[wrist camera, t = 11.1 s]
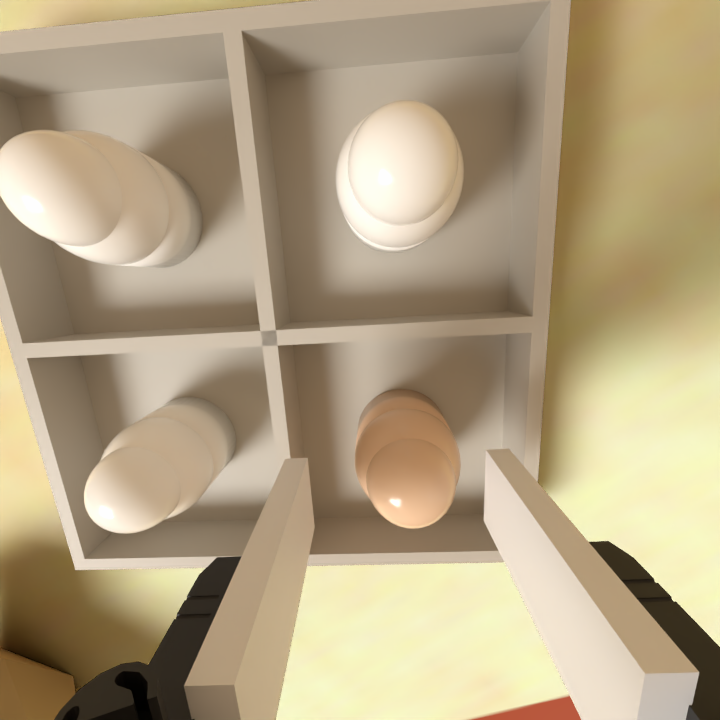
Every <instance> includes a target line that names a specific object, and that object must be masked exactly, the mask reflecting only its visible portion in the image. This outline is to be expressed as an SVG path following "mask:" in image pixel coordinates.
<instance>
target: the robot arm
mask: <svg viewBox="0 0 720 720" xmlns="http://www.w3.org/2000/svg"><path fill="white" fill-rule="evenodd" d="M484 522H485V524H486V526H487V528H488V530H489V532H490V534H491V537H492V539H493V541H494V543H495V545H496V547H497V549H498V551H499V553H500V555H501V557H502V559H503V561H504V563H505V565H506V567H507V569H508V571H509V573H510V575H511V577H512V579H513V581H514V583H515V585H516V587H517V589H518V591H519V593H520V595H521V597H522V599H523V602H524V604H525V606H526V608H527V610H528V612H529V614H530V616H531V618H532V620H533V622H534V624H535V626H536V628H537V630H538V632H539V634H540V636H541V638H542V640H543V642H544V644H545V646H546V648H547V650H548V652H549V654H550V656H551V658H552V660H553V662H554V664H555V666H556V669H557V671H558V673H559V675H560V677H561V679H562V681H563V683H564V685H565V687H566V689H567V691H568V693H569V695H570V697H571V699H572V701H573V703H574V705H575V707H576V709H577V711H578V713H579V715H580V717H581V719H582V720H720V647H719V646H718V645H717V644H716V643H715V642H714V641H713V640H712V639H711V637H710V636H709V635H708V634H707V633H706V632H705V631H704V630H703V629H702V628H701V627H700V626H699V625H698V624H697V623H696V622H695V621H694V620H693V619H692V618H691V617H690V616H689V615H688V614H687V613H686V612H685V611H684V610H683V608H682V607H681V606H680V605H679V604H678V603H677V602H673V600H672V599H671V596H670V595H669V594H668V593H667V592H666V591H665V590H664V589H663V588H662V587H661V586H660V585H659V584H658V583H655V582H654V578H653V577H652V576H651V575H650V574H649V573H648V572H647V571H646V570H645V569H644V568H643V567H642V566H641V565H640V564H639V563H638V562H637V561H636V560H635V559H634V558H633V557H632V556H630V555H629V554H627V553H626V552H624V551H623V550H621V549H620V548H618V547H616V546H615V545H613V544H612V543H610V542H609V541H600V542H588V541H587V540H586V539H585V537H584V536H583V535H582V534H581V533H580V532H579V530H578V529H577V528H576V527H575V526H574V525H573V523H572V522H571V521H570V520H569V519H568V517H567V516H566V515H565V514H564V513H563V512H562V510H561V509H560V508H559V507H558V506H557V505H556V503H555V502H554V501H553V500H552V499H551V498H550V496H549V495H548V494H547V493H546V492H545V490H544V489H543V488H542V487H541V486H540V485H539V483H538V482H537V481H536V480H535V479H534V478H533V476H532V475H531V474H530V473H529V472H528V470H527V469H526V468H525V467H524V466H523V465H522V463H521V462H520V461H519V460H518V459H517V458H516V456H515V455H514V454H513V453H512V452H511V451H510V449H491V450H486V461H485V494H484ZM314 528H315V525H314V515H313V505H312V496H311V486H310V476H309V467H308V458H291V459H285V460H284V463H283V465H282V467H281V469H280V472H279V474H278V476H277V478H276V481H275V483H274V485H273V487H272V490H271V492H270V494H269V496H268V499H267V501H266V503H265V505H264V508H263V510H262V512H261V514H260V516H259V519H258V521H257V523H256V525H255V528H254V530H253V532H252V534H251V537H250V539H249V541H248V543H247V546H246V548H245V550H244V552H243V555H242V556H235V557H217V558H216V559H215V560H214V561H213V562H212V563H211V564H210V565H209V566H208V567H207V568H206V569H205V570H204V571H203V572H202V573H201V574H200V575H199V576H198V578H197V580H196V581H195V583H194V585H193V587H192V588H191V590H190V592H189V594H188V596H187V600H186V601H184V603H183V604H182V606H181V608H180V610H179V612H178V613H177V618H176V619H174V620H173V622H172V624H171V626H170V628H169V629H168V631H167V633H166V635H165V636H164V638H163V640H162V642H161V644H160V645H159V647H158V649H157V651H156V652H155V654H154V656H153V658H152V660H151V661H150V663H149V665H146V664H143V663H141V662H132V663H125V664H120V665H118V666H116V667H114V668H112V669H109V670H107V671H105V672H103V673H101V674H99V675H98V676H97V677H95V678H94V679H93V680H91V681H90V682H89V683H87V684H86V685H85V686H83V687H82V688H81V689H79V690H78V691H77V693H76V694H75V695H74V696H73V697H72V698H71V699H70V700H69V701H68V702H67V703H66V704H65V705H64V706H63V708H62V709H61V710H60V711H59V713H58V714H57V716H56V717H55V719H54V720H276V715H277V710H278V705H279V700H280V696H281V691H282V686H283V681H284V676H285V671H286V666H287V661H288V656H289V651H290V646H291V642H292V637H293V632H294V627H295V622H296V617H297V612H298V607H299V602H300V597H301V592H302V587H303V583H304V578H305V573H306V568H307V563H308V558H309V553H310V548H311V543H312V538H313V533H314Z"/></svg>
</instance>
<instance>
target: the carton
mask: <svg viewBox="0 0 720 720" xmlns="http://www.w3.org/2000/svg"><path fill="white" fill-rule="evenodd" d="M570 8H571V0H312V1H302V2H292V3H282V4H272V5H262V6H252V7H242V8H232V9H222V10H212V11H202V12H192V13H182V14H172V15H162V16H152V17H142V18H132V19H122V20H112V21H102V22H93V23H83V24H73V25H63V26H53V27H43V28H33V29H23V30H13V31H3V32H0V149H1V148H2V146H3V145H4V144H5V143H6V142H7V141H9V140H10V139H11V138H13V137H15V136H16V135H19V134H21V133H24V132H27V131H33V130H54V131H60V132H63V131H69V130H86V131H93V132H98V133H101V134H105V135H108V136H111V137H113V138H115V139H117V140H120V141H122V142H124V143H126V144H127V145H129V146H131V147H133V148H135V149H136V150H138V151H140V152H142V153H144V154H145V155H147V156H149V157H151V158H152V159H154V160H156V161H158V162H160V163H161V164H163V165H165V166H167V167H168V168H170V169H172V170H174V171H175V172H177V173H178V174H179V175H180V176H182V177H183V178H184V179H185V180H186V181H187V182H188V184H189V185H190V186H191V188H192V189H193V191H194V193H195V194H196V196H197V199H198V201H199V204H200V207H201V212H202V221H203V222H202V232H201V237H200V240H199V242H198V245H197V247H196V248H195V250H194V251H193V253H192V254H191V255H190V256H189V257H188V258H187V259H185V260H184V261H183V262H181V263H179V264H177V265H175V266H171V267H166V268H151V267H136V266H121V265H108V264H102V263H96V262H93V261H89V260H86V259H83V258H81V257H78V256H76V255H74V254H72V253H70V252H68V251H67V250H65V249H63V248H62V247H60V246H59V245H58V244H56V243H55V242H54V241H52V240H49V239H47V238H45V237H43V236H41V235H39V234H37V233H35V232H34V231H32V230H31V229H29V228H28V227H27V226H25V225H24V224H23V223H22V222H20V221H19V220H18V219H17V218H16V217H15V216H14V215H13V214H12V212H11V211H10V210H9V209H8V207H7V206H6V205H5V203H4V201H3V200H2V198H1V196H0V318H1V322H2V325H3V328H4V332H5V335H6V338H7V342H8V345H9V348H10V352H11V355H12V359H13V362H14V365H15V369H16V372H17V375H18V379H19V382H20V385H21V389H22V392H23V395H24V399H25V402H26V406H27V409H28V412H29V416H30V419H31V422H32V426H33V429H34V432H35V436H36V439H37V442H38V446H39V449H40V453H41V456H42V459H43V463H44V466H45V469H46V473H47V476H48V479H49V483H50V486H51V489H52V493H53V496H54V500H55V503H56V506H57V510H58V513H59V516H60V520H61V523H62V526H63V530H64V533H65V536H66V540H67V543H68V547H69V550H70V553H71V557H72V560H73V563H74V567H75V570H106V569H161V568H207V567H208V566H209V565H210V564H211V563H212V562H213V561H214V560H215V559H216V558H217V557H235V556H242V555H243V552H244V550H245V548H246V546H247V543H248V541H249V539H250V537H251V534H252V532H253V530H254V528H255V525H256V523H257V521H258V519H259V516H260V514H261V512H262V510H263V508H264V505H265V503H266V501H267V499H268V496H269V494H270V492H271V490H272V487H273V485H274V483H275V481H276V478H277V476H278V474H279V472H280V469H281V467H282V465H283V463H284V460H285V459H291V458H308V467H309V476H310V486H311V496H312V505H313V515H314V525H315V528H314V533H313V538H312V543H311V548H310V553H309V558H308V563H307V566H327V565H382V564H437V563H492V562H504V561H503V559H502V557H501V555H500V553H499V551H498V549H497V547H496V545H495V543H494V541H493V539H492V537H491V534H490V532H489V530H488V528H487V526H486V524H485V522H484V494H485V461H486V450H491V449H510V451H511V452H512V453H513V454H514V455H515V456H516V458H517V459H518V460H519V461H520V462H521V463H522V465H523V466H524V467H525V468H526V469H527V470H528V472H529V473H530V474H531V475H532V476H533V478H534V479H535V480H536V481H537V482H538V472H539V458H540V443H541V429H542V414H543V400H544V385H545V371H546V356H547V342H548V327H549V313H550V298H551V284H552V269H553V255H554V240H555V226H556V211H557V197H558V182H559V168H560V153H561V139H562V124H563V110H564V95H565V81H566V66H567V52H568V37H569V23H570ZM398 100H415V101H419V102H422V103H425V104H427V105H429V106H431V107H432V108H434V109H435V110H437V111H438V112H439V113H440V114H441V115H442V116H443V117H444V118H445V120H446V121H447V122H448V124H449V126H450V127H451V129H452V131H453V133H454V134H455V136H456V138H457V141H458V143H459V146H460V149H461V152H462V157H463V163H464V179H463V186H462V191H461V195H460V198H459V201H458V203H457V205H456V208H455V210H454V211H453V213H452V215H451V216H450V218H449V219H448V220H447V222H446V223H445V224H444V225H443V227H442V228H440V229H439V230H438V231H437V232H436V233H435V234H434V235H432V236H431V237H430V238H428V239H427V240H426V241H424V242H423V243H422V244H420V245H419V246H417V247H415V248H414V249H411V250H409V251H405V252H402V253H383V252H379V251H376V250H374V249H371V248H369V247H368V246H366V245H365V244H363V243H362V242H361V241H360V240H359V239H358V238H357V237H356V236H355V235H354V233H353V232H352V231H351V229H350V227H349V225H348V223H347V221H346V219H345V216H344V214H343V212H342V209H341V207H340V204H339V200H338V197H337V191H336V167H337V162H338V158H339V154H340V152H341V149H342V146H343V144H344V142H345V140H346V138H347V136H348V135H349V133H350V132H351V131H352V129H353V128H354V127H355V126H356V125H357V124H358V123H359V122H360V121H361V120H362V119H363V118H364V117H365V116H367V115H368V114H370V113H371V112H373V111H374V110H376V109H378V108H380V107H381V106H383V105H385V104H387V103H390V102H393V101H398ZM395 389H408V390H414V391H417V392H420V393H422V394H424V395H426V396H427V397H429V398H430V399H431V400H432V401H433V402H434V403H435V404H436V405H437V406H438V407H439V409H440V411H441V413H442V414H443V416H444V418H445V420H446V422H447V424H448V426H449V428H450V430H451V432H452V434H453V436H454V438H455V440H456V442H457V445H458V448H459V452H460V458H461V470H460V476H459V480H458V483H457V486H456V491H455V496H454V499H453V502H452V504H451V506H450V508H449V510H448V511H447V512H446V514H445V515H444V516H443V517H442V518H441V519H439V520H438V521H437V522H435V523H434V524H432V525H429V526H426V527H423V528H416V529H410V528H404V527H400V526H397V525H395V524H393V523H391V522H389V521H388V520H386V519H385V518H384V517H383V516H382V515H381V514H380V513H379V512H378V511H377V510H376V508H375V507H374V505H373V503H372V501H371V500H370V499H369V497H368V496H367V495H366V494H365V492H364V490H363V489H362V487H361V485H360V483H359V481H358V477H357V474H356V470H355V448H356V439H357V429H358V422H359V418H360V416H361V413H362V411H363V410H364V408H365V407H366V405H367V404H368V403H369V402H370V401H371V400H372V399H374V398H375V397H376V396H378V395H380V394H382V393H384V392H387V391H390V390H395ZM181 397H196V398H201V399H204V400H207V401H209V402H211V403H213V404H215V405H216V406H217V407H219V408H220V409H221V410H222V411H223V412H224V413H225V414H226V415H227V416H228V418H229V419H230V421H231V423H232V425H233V427H234V430H235V434H236V448H235V452H234V454H233V456H232V458H231V460H230V461H229V462H228V464H227V465H226V466H225V468H224V469H223V470H222V471H221V473H220V474H219V475H218V476H217V478H216V479H215V480H214V481H213V483H212V484H211V485H210V486H209V488H208V489H207V490H206V492H205V493H204V494H203V495H202V497H201V498H200V499H199V500H198V501H197V502H196V503H195V504H194V505H192V506H191V507H190V508H188V509H187V510H185V511H184V512H182V513H180V514H178V515H176V516H174V517H171V518H168V519H165V520H163V521H162V522H160V523H159V524H157V525H155V526H153V527H151V528H149V529H146V530H143V531H140V532H136V533H128V534H127V533H115V532H111V531H108V530H105V529H103V528H101V527H100V526H98V525H97V524H96V523H95V522H94V521H93V520H92V519H91V518H90V516H89V514H88V512H87V510H86V508H85V504H84V490H85V486H86V482H87V480H88V478H89V475H90V474H91V472H92V471H93V469H94V468H95V466H96V465H97V464H98V463H99V462H100V460H101V458H102V455H103V453H104V451H105V449H106V448H107V446H108V445H109V443H110V442H111V441H112V440H113V439H114V438H115V437H116V436H117V435H118V434H119V433H120V432H121V431H122V430H124V429H125V428H126V427H128V426H130V425H131V424H133V423H135V422H136V421H138V420H140V419H141V418H143V417H145V416H146V415H148V414H150V413H151V412H153V411H155V410H156V409H158V408H160V407H161V406H163V405H165V404H166V403H168V402H170V401H172V400H174V399H177V398H181Z"/></svg>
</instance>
